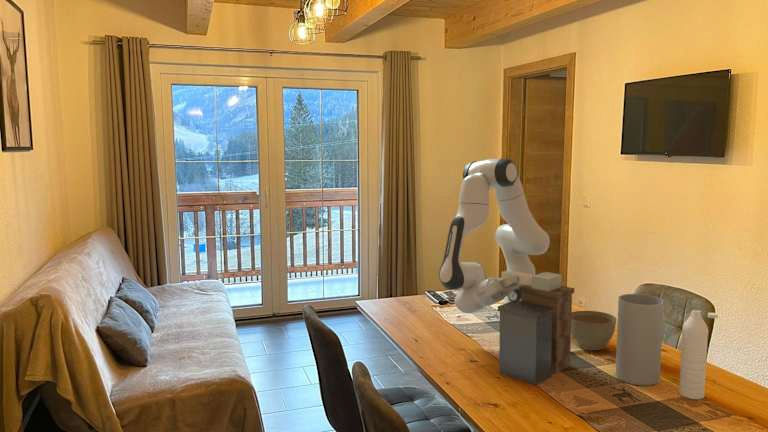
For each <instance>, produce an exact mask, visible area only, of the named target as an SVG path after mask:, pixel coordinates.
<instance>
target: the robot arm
mask: <svg viewBox="0 0 768 432" xmlns="http://www.w3.org/2000/svg"><path fill="white" fill-rule="evenodd" d="M518 169H519V168H518V166H517V164H516V163H515V161H513V160H512V159H510V158H505V157H504V158H487V159H482V160H473V161H470V162H468V163H466V165H465V167H464V169H463V171H462V182H461V186H460V190H459V198H458V206H457V207H458V208H457V211H456V215H455V217H454V218H453V219H452V221H451V223H450V225H449V229H448V235H447V238H446V245H445V250H444V255H443V260H442V263H441V265H440V268H439V271H438V277H439V281H440V283H441V285H442V286H443V287H444V288H445V289H447V290H449V291H454V290H457V294H456V295H455V298H454V305H455V307H456V308H457V309H458V311H460V312H462V313H464V314H472V313H476V312H479V311H481V310H483V309H486V307H490V306H493V305H494V304H498V303H500V302H501V301H503V304H506V303H508V302H511V301H514V300H519V301H521V291H519V287H520V286H523V285H522V284H517V283H515V282H517V281H519V278H518V276H515V277H512V278H510V279H506V278H505V279H502V276H501V277H489V278H487V276H486V271H485V269H484V267H483V265H481V264H480V263H479V262H474V261H473V262H472V261H467V262H466V261H461V257H462V251H463V246H464V241H465V238H466V237H467V235H468V234H470V233H471V232H473V231H475V230H477V229H479V228H481V227H483V226H484V225H485V223H486V222H487V220H488V217H489V211H490V192H489V191H490V189H493V192H494V196H495V200H496V203H497V207H498V211H499V214H500V216H501V218H502V220H503V221H505V222H506V223H505V224H504V223H503V224H502V225H500V226H498V228H497V229H496V231H495V241H496V243H497V244H498V245H499V247H500V249H501V251H502V253H503V256H504V260H505V263H506V270H512V271H518V272H523V273H529V274H534V275H536V267H535V265H534V264H533V262H532V261H531V259H530V257H529V256H539V255H543V254H545V253H546V252H547V250H548V249H549V246H550V243H551V242H550V236H549V234H548V233H547V232H546V231H545V230H544V229H543V228H542V227H541V226H540V225H539V223H538V222H537V220H535V217H534V216H533V214H532V213H531V211H530V208H529V206H528V202H527V199H526V195H525V191H524V186H523V184H522V182H521V180H520V176H519V172H518V171H519V170H518ZM501 279H502V280H501Z"/></svg>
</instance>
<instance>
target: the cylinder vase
mask: <svg viewBox="0 0 768 432" xmlns="http://www.w3.org/2000/svg"><path fill="white" fill-rule="evenodd" d="M617 303H618V304H617V305H618V306H617V326H616V327H617V328H616V353H615V354H616V355H615V357H616V358H615V375H616V377H617V378H618V379H619V380H621V381H622V382H625V383H628V384H630V385H635V386H653V385H656V384H658V383H659V381H660V379H661V364H662V363H661V361H662V343H663V341H662V340H663V324H664V323H663V321H664V300H663V298H661V297H658V296H654V295H649V294H643V293H625V294H620V295H618V300H617Z"/></svg>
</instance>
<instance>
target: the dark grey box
mask: <svg viewBox="0 0 768 432" xmlns="http://www.w3.org/2000/svg"><path fill="white" fill-rule="evenodd" d="M497 312H499V348H498V349H499V352H498V353H499V354H498V355H499V357H498V358H499V361H498V365H499V367H498V368H499V369H498V374H500V375H502V376H506V377H508V378H512V379H515V380H517V381H520V382H523V383H527V384H530V385H532V386H537V385H539V384H541V383H542V382H545V381H546V380H547V379H549V378H551V377H552V373H551V349H552V314H554V313H555V308H550V307H546V306H541V305H537V304H532V303H528V302H523V301H519V300H514V301H511V302H508V303H506V304H504V303H503V304H501V305H498V306H497Z"/></svg>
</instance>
